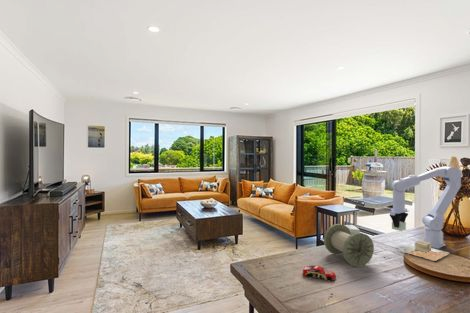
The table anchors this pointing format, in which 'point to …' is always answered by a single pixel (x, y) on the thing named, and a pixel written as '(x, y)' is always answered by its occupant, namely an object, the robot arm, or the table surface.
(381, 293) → the table surface
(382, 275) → the table surface
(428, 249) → the maple block
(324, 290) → the table surface
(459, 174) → the robot arm
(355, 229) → the ink box
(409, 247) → the baseplate
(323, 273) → the race car
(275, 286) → the table surface
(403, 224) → the sage block
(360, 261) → the spool
